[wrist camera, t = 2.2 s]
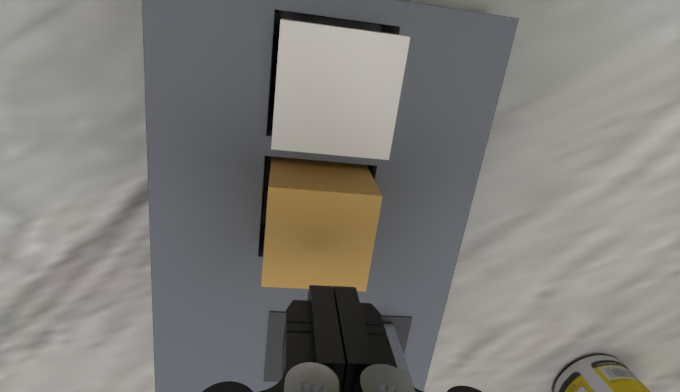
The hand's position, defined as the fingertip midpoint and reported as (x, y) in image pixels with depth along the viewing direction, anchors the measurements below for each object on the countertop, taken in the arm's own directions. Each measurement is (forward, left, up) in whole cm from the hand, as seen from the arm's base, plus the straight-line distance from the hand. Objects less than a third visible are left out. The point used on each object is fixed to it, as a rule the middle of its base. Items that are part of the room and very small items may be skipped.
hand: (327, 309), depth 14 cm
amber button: (0, 0, -8) cm, 8 cm away
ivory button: (-6, 0, -8) cm, 10 cm away
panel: (+1, 0, -10) cm, 10 cm away
